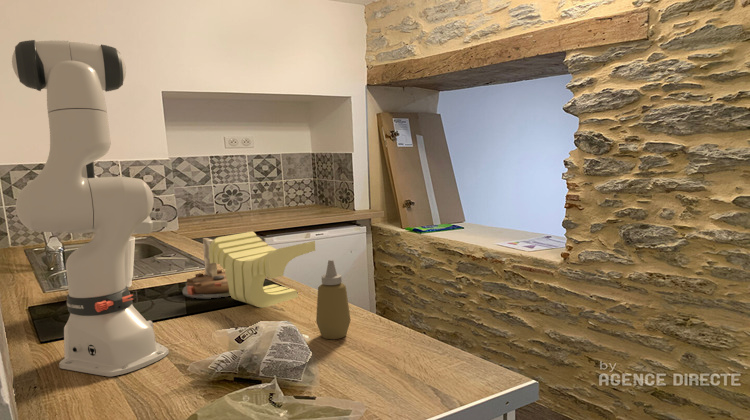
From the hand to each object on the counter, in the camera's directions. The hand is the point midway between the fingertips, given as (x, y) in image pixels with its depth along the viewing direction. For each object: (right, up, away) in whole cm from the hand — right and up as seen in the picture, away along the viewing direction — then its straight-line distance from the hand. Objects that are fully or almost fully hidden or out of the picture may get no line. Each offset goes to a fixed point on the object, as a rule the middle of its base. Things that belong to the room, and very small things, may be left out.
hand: (164, 219), depth 157 cm
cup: (-20, -23, +13) cm, 33 cm away
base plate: (+15, -22, +6) cm, 28 cm away
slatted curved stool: (+32, -24, -7) cm, 40 cm away
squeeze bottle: (+55, -27, -37) cm, 72 cm away
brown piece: (+15, -21, +6) cm, 27 cm away
